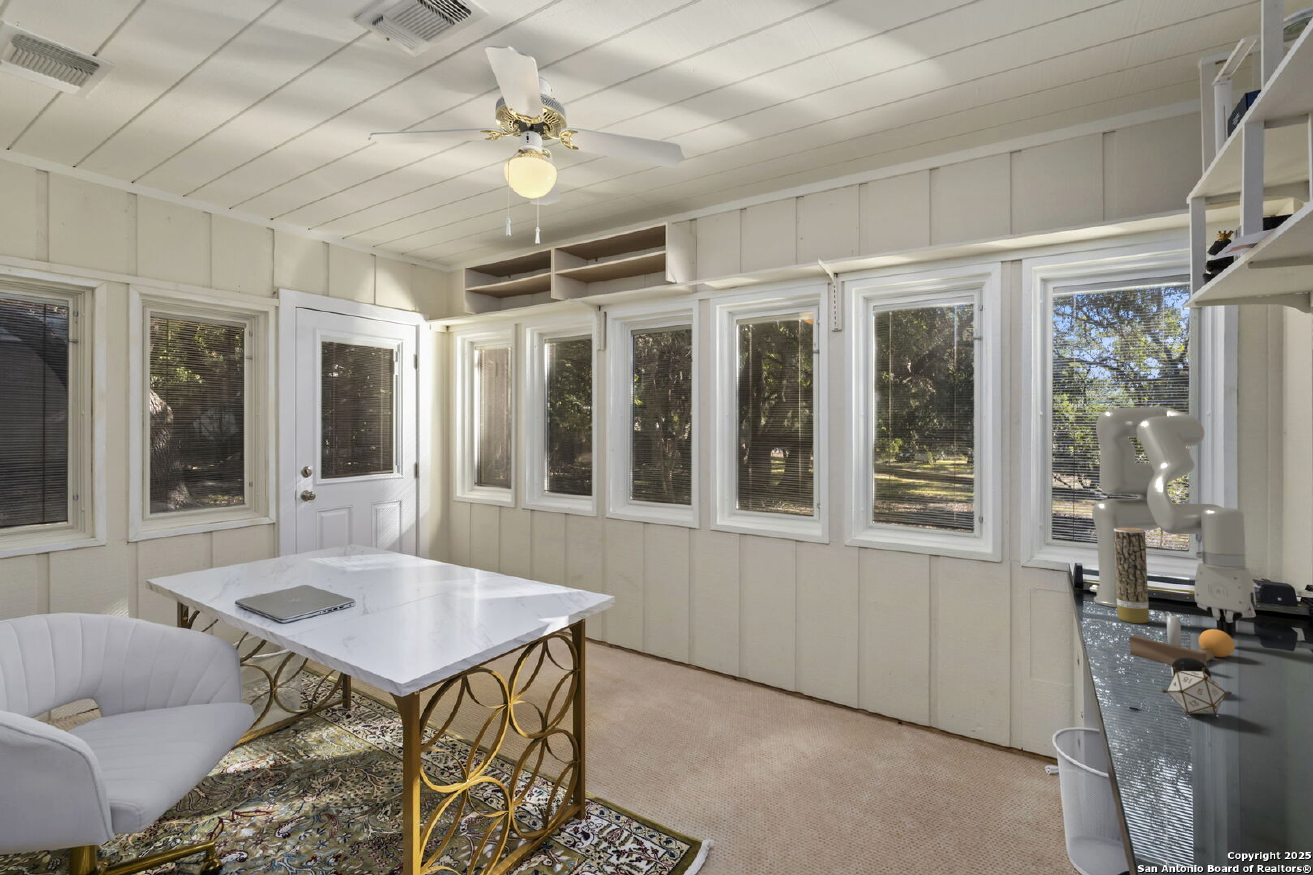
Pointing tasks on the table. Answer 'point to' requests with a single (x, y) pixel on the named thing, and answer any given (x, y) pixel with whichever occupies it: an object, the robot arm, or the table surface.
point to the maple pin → (1208, 653)
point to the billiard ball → (1189, 666)
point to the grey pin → (1173, 630)
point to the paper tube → (1131, 575)
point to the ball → (1217, 642)
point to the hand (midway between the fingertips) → (1226, 637)
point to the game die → (1196, 692)
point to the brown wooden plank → (1162, 651)
